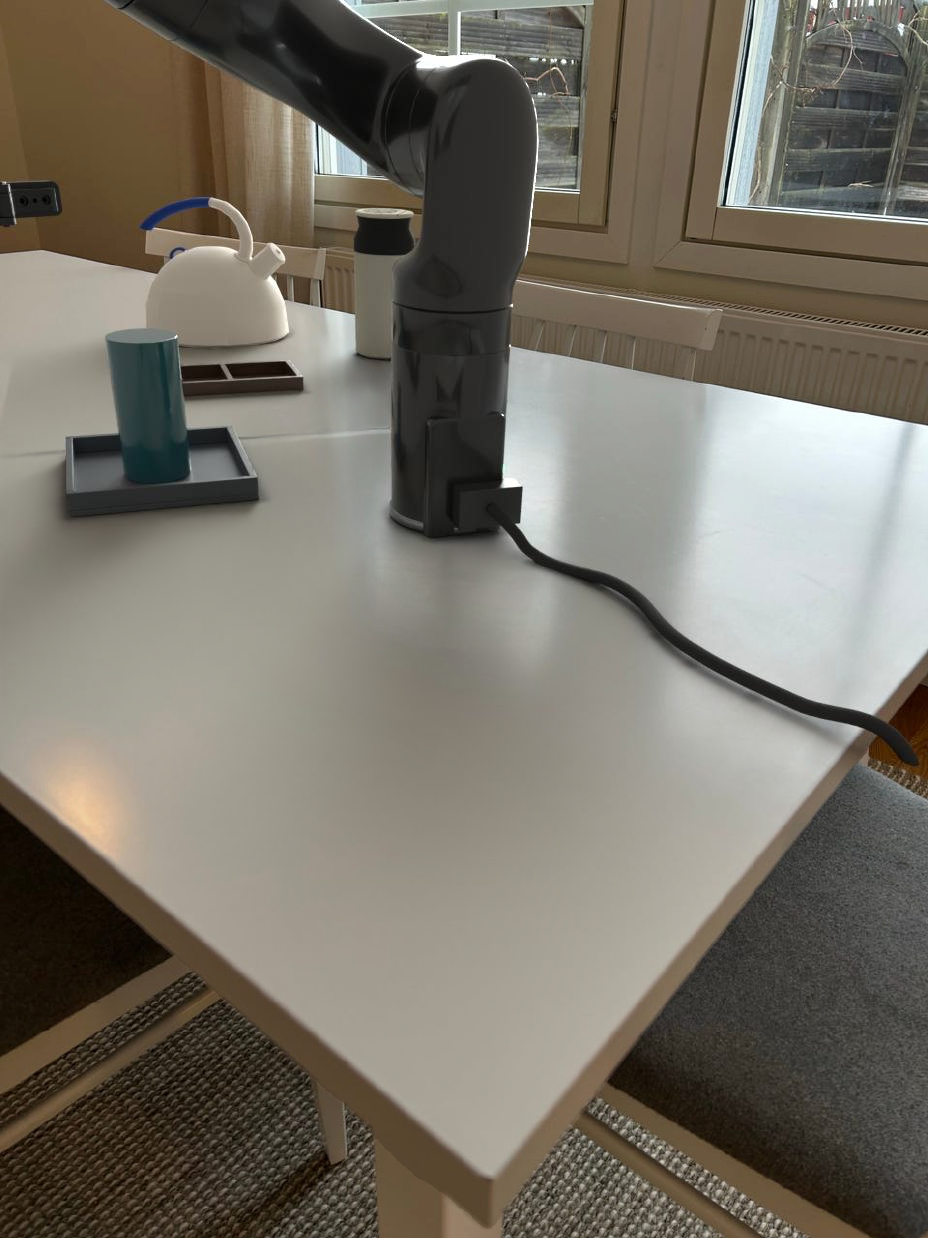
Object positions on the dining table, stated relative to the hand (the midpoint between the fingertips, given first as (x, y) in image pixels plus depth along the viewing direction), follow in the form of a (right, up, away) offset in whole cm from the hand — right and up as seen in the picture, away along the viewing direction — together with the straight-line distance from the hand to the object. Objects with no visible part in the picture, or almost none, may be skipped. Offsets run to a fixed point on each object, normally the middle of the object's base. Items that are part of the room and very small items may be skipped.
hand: (27, 192), depth 69 cm
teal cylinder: (+4, -18, +16) cm, 24 cm away
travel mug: (+21, +5, +62) cm, 65 cm away
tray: (+4, -18, +17) cm, 25 cm away
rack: (+4, -3, +43) cm, 44 cm away
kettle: (-4, +11, +69) cm, 70 cm away
